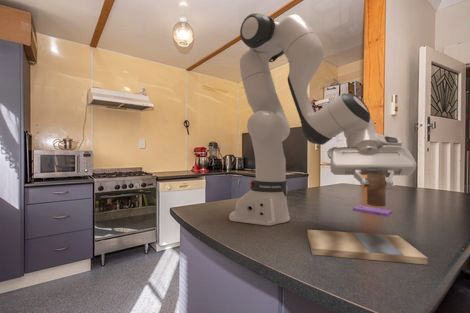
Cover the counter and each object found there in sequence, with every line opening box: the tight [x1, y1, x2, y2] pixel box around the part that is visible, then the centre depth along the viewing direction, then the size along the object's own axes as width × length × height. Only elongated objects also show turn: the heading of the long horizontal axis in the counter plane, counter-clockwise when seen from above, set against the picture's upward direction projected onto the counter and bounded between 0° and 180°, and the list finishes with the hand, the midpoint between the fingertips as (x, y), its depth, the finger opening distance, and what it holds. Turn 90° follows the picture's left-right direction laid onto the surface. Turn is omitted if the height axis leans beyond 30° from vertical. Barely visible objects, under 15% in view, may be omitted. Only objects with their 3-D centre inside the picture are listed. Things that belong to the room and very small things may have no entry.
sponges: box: [352, 204, 393, 217], centre depth 96 cm, size 7×13×2 cm, turn 43°
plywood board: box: [307, 229, 429, 265], centre depth 61 cm, size 24×14×2 cm, turn 77°
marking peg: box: [366, 169, 387, 207], centre depth 59 cm, size 4×4×9 cm
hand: (377, 185), depth 59 cm, fingers closed on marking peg, 4 cm apart
